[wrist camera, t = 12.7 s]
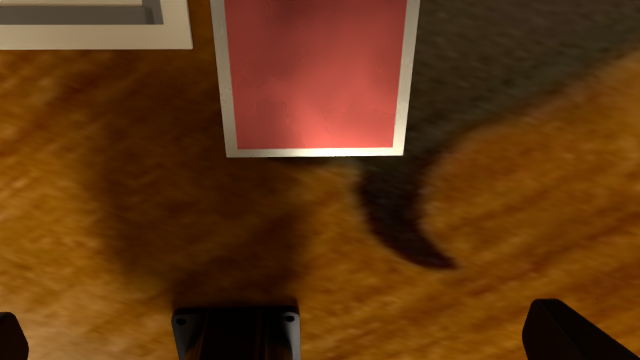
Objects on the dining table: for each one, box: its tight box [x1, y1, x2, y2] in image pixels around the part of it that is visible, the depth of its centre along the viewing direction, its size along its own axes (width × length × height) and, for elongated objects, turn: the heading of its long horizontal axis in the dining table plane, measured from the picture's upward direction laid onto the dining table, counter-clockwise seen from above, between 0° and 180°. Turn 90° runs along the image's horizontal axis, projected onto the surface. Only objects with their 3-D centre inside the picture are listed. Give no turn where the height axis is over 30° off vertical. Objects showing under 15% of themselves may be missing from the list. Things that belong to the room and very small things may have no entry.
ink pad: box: [210, 0, 420, 157], centre depth 17 cm, size 9×7×2 cm
